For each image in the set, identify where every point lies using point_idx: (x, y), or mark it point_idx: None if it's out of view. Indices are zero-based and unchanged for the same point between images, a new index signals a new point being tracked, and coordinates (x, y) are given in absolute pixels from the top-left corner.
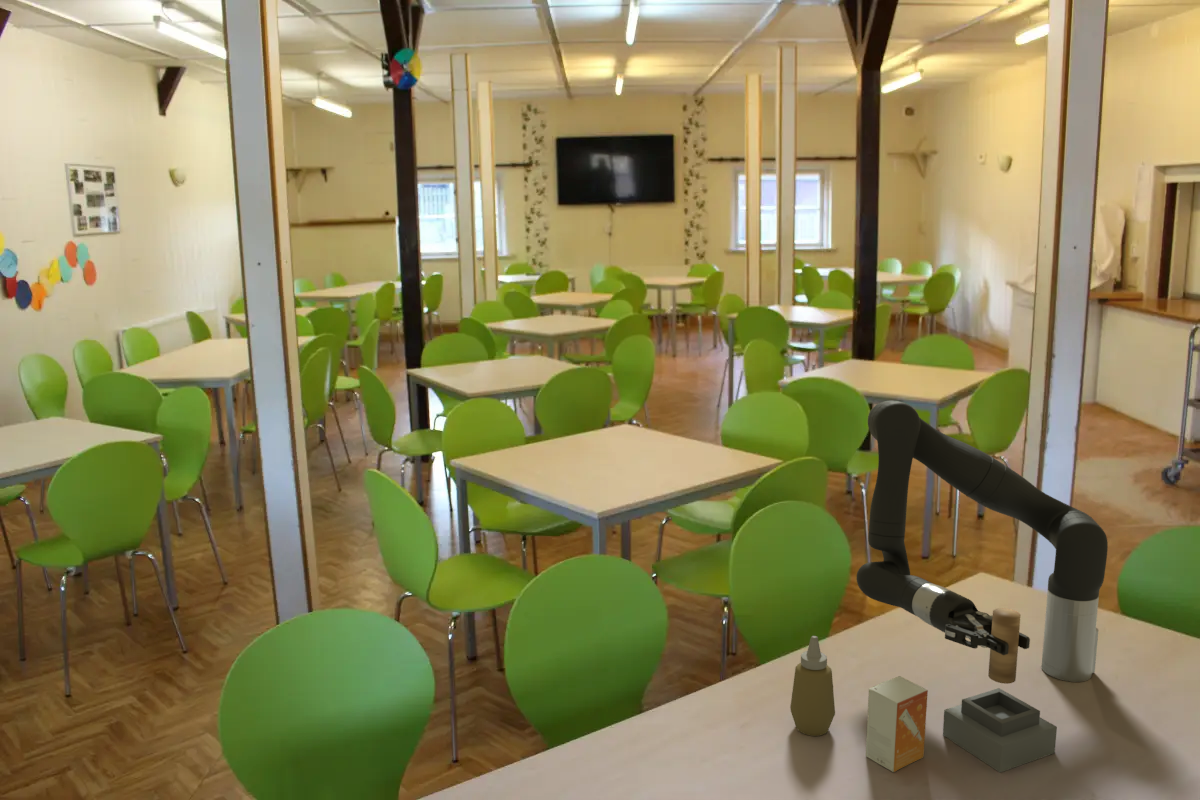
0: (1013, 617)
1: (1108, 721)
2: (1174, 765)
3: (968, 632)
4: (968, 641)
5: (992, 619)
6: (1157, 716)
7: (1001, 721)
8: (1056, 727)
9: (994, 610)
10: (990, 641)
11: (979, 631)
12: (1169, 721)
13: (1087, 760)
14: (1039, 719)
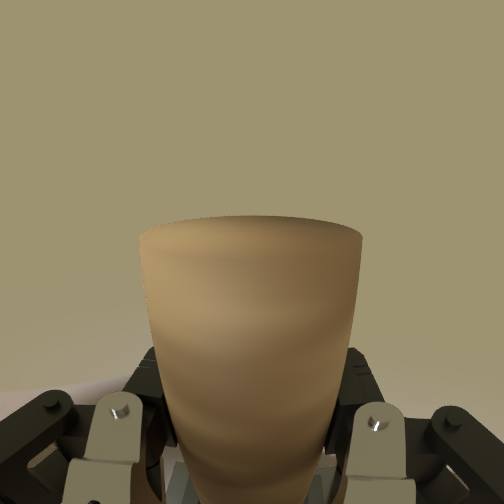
0: (264, 218)
1: (37, 455)
2: (102, 390)
3: (483, 441)
4: (435, 499)
5: (345, 322)
6: (4, 414)
7: (315, 480)
8: (177, 462)
9: (309, 251)
10: (377, 386)
11: (405, 448)
12: (10, 405)
13: (165, 451)
14: (176, 491)
